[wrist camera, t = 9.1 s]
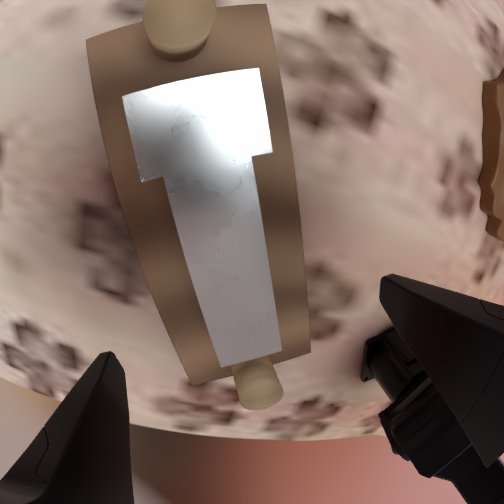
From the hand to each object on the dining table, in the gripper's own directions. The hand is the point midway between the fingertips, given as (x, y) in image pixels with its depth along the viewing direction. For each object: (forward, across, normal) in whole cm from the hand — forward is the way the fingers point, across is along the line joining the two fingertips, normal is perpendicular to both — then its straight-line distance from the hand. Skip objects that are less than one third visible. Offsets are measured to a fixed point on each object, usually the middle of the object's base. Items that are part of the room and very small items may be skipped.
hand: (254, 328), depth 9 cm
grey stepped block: (+9, 0, 0) cm, 9 cm away
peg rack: (+11, 0, 0) cm, 11 cm away
